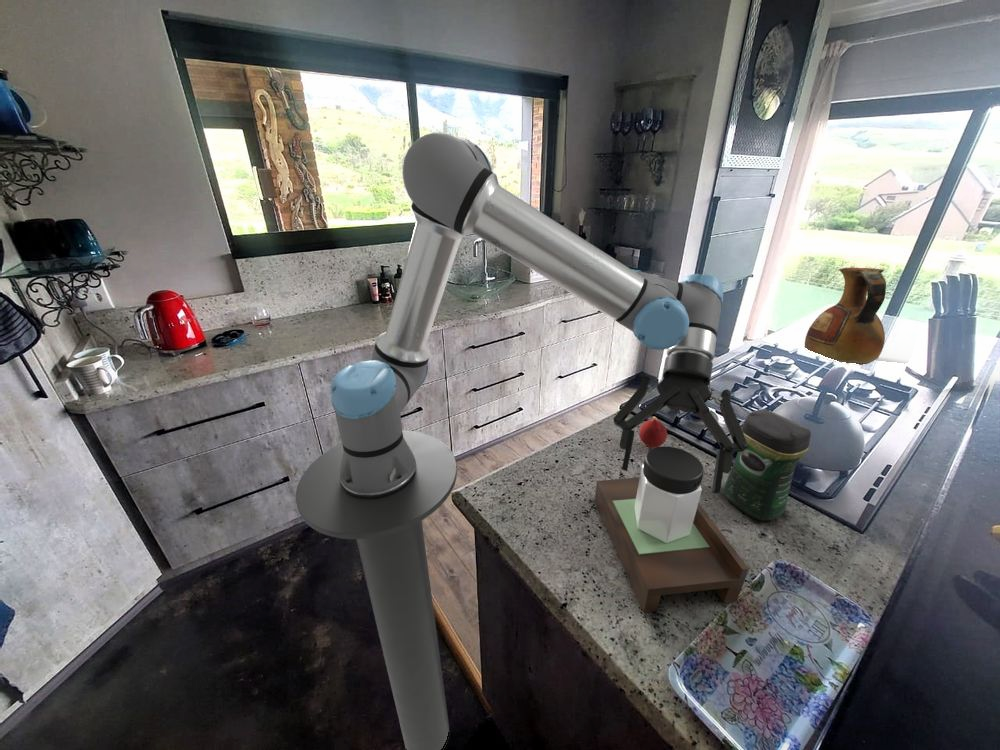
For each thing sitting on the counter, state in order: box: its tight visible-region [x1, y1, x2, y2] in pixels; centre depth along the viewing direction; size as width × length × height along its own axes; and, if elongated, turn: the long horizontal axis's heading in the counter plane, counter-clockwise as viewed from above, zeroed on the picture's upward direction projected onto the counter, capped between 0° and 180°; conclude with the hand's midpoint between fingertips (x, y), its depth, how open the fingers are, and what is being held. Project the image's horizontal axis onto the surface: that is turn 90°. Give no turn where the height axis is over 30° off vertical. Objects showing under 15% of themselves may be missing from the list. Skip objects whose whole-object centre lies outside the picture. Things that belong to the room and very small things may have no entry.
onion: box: [638, 416, 668, 449], centre depth 90 cm, size 6×6×8 cm
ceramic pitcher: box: [804, 266, 887, 366], centre depth 127 cm, size 20×20×30 cm
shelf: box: [594, 476, 750, 613], centre depth 66 cm, size 22×14×7 cm, turn 6°
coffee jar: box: [722, 408, 812, 522], centre depth 71 cm, size 10×8×19 cm
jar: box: [634, 445, 704, 543], centre depth 62 cm, size 9×8×12 cm
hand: (668, 480), depth 64 cm, fingers open, 13 cm apart
